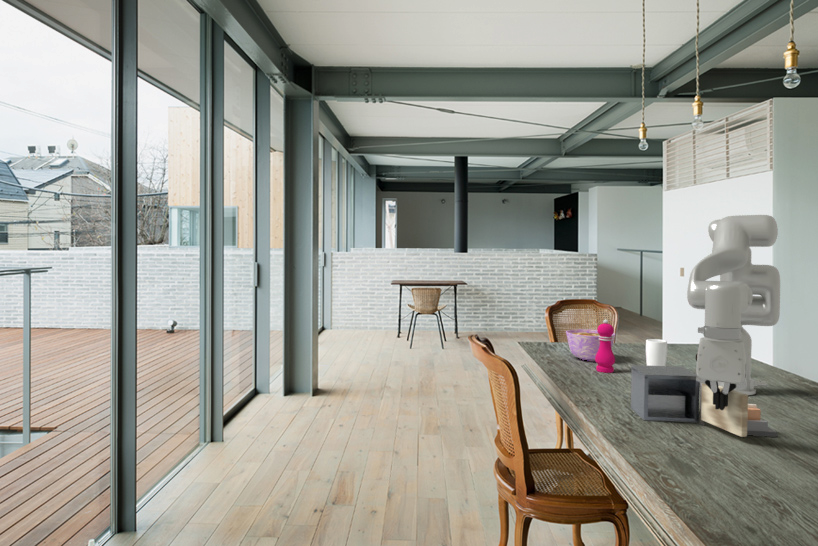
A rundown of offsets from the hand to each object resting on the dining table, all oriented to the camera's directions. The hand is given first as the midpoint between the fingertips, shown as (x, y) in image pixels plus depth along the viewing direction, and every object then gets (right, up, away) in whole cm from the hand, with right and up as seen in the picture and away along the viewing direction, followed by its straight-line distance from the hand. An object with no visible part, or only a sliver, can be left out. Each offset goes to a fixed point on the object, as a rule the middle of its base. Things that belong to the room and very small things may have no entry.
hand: (720, 408), depth 127 cm
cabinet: (-5, -7, +19) cm, 20 cm away
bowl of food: (+1, -4, +94) cm, 94 cm away
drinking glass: (+10, -6, +54) cm, 55 cm away
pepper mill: (-1, -5, +73) cm, 73 cm away
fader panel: (+11, -7, +10) cm, 17 cm away
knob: (+11, -6, +5) cm, 13 cm away
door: (+3, -7, +4) cm, 8 cm away
